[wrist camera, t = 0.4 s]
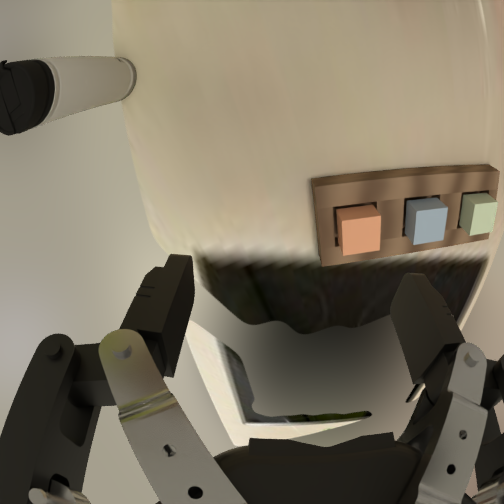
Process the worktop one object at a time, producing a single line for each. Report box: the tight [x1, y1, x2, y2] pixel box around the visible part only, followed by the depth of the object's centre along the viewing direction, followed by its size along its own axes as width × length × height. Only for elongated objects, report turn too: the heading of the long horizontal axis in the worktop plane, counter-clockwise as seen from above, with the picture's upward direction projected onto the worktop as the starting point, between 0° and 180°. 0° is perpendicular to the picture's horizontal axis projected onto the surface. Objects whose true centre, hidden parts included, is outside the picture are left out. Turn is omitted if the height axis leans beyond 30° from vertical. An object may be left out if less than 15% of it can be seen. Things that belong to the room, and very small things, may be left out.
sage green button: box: [459, 193, 498, 236], centre depth 33 cm, size 5×5×3 cm
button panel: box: [311, 165, 500, 267], centre depth 37 cm, size 30×12×3 cm, turn 101°
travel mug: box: [0, 56, 136, 135], centre depth 21 cm, size 6×7×20 cm
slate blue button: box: [405, 197, 448, 245], centre depth 34 cm, size 5×5×3 cm
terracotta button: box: [336, 205, 381, 256], centre depth 36 cm, size 5×5×3 cm
